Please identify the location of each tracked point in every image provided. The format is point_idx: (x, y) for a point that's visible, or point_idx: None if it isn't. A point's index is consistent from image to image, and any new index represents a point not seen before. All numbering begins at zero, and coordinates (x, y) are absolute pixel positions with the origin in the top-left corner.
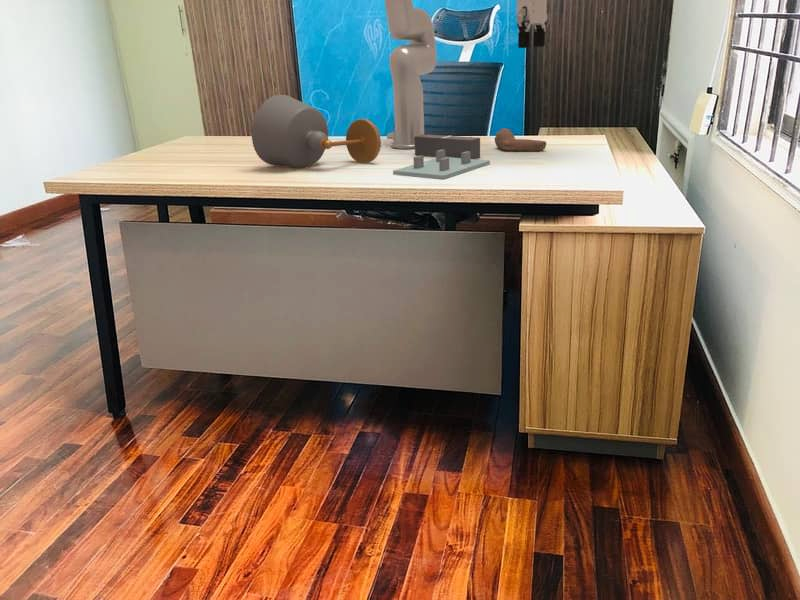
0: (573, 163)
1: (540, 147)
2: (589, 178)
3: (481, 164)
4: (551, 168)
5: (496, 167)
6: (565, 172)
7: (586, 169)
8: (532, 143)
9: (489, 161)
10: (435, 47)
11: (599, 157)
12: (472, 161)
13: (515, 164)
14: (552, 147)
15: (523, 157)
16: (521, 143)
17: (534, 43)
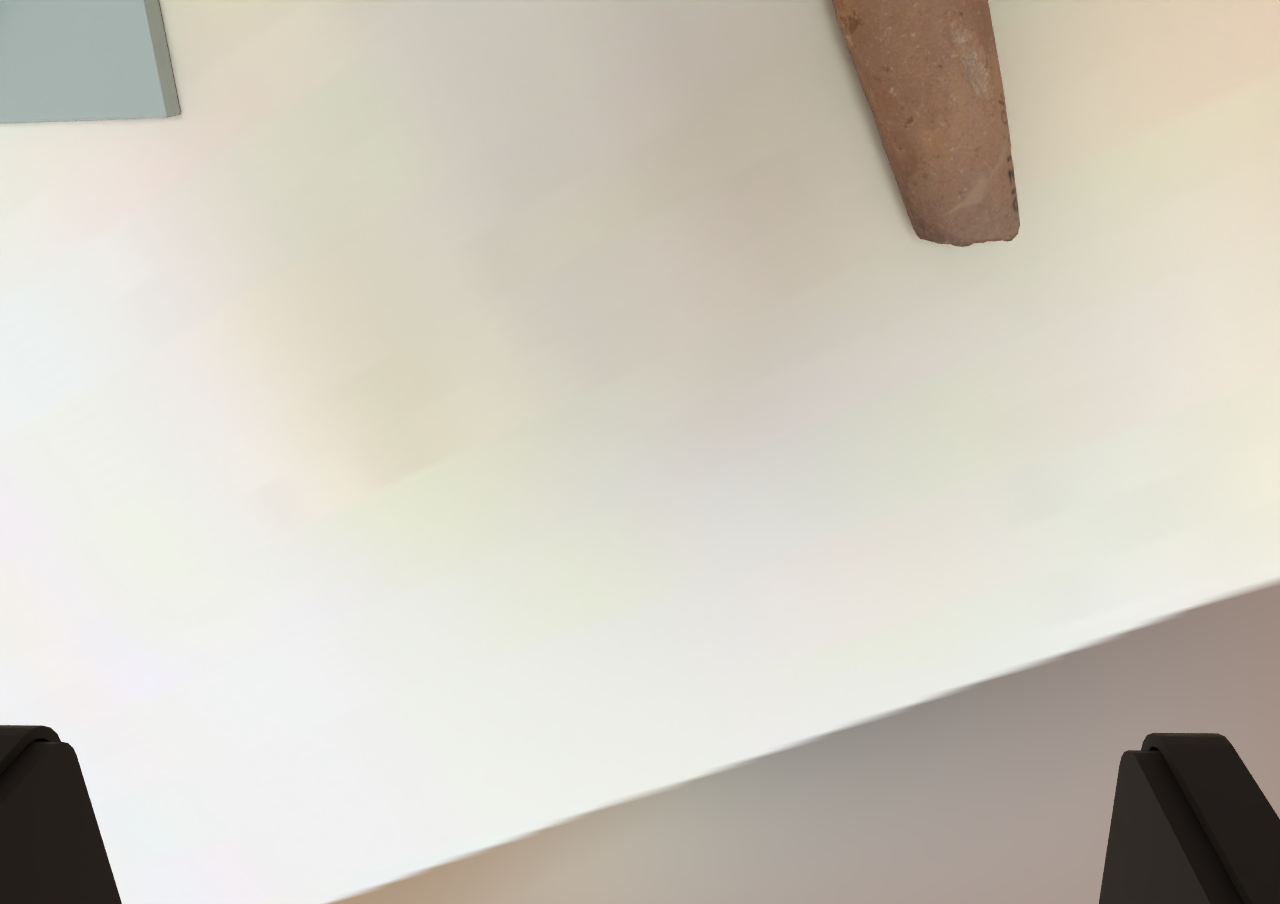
0: (531, 631)
1: (912, 219)
2: (168, 847)
3: (35, 121)
4: (298, 581)
5: (105, 236)
6: (235, 695)
7: (385, 759)
8: (899, 150)
9: (161, 117)
10: None
11: (827, 694)
12: (39, 3)
13: (286, 304)
14: (1205, 192)
15: (589, 209)
16: (859, 47)
17: (1149, 822)
